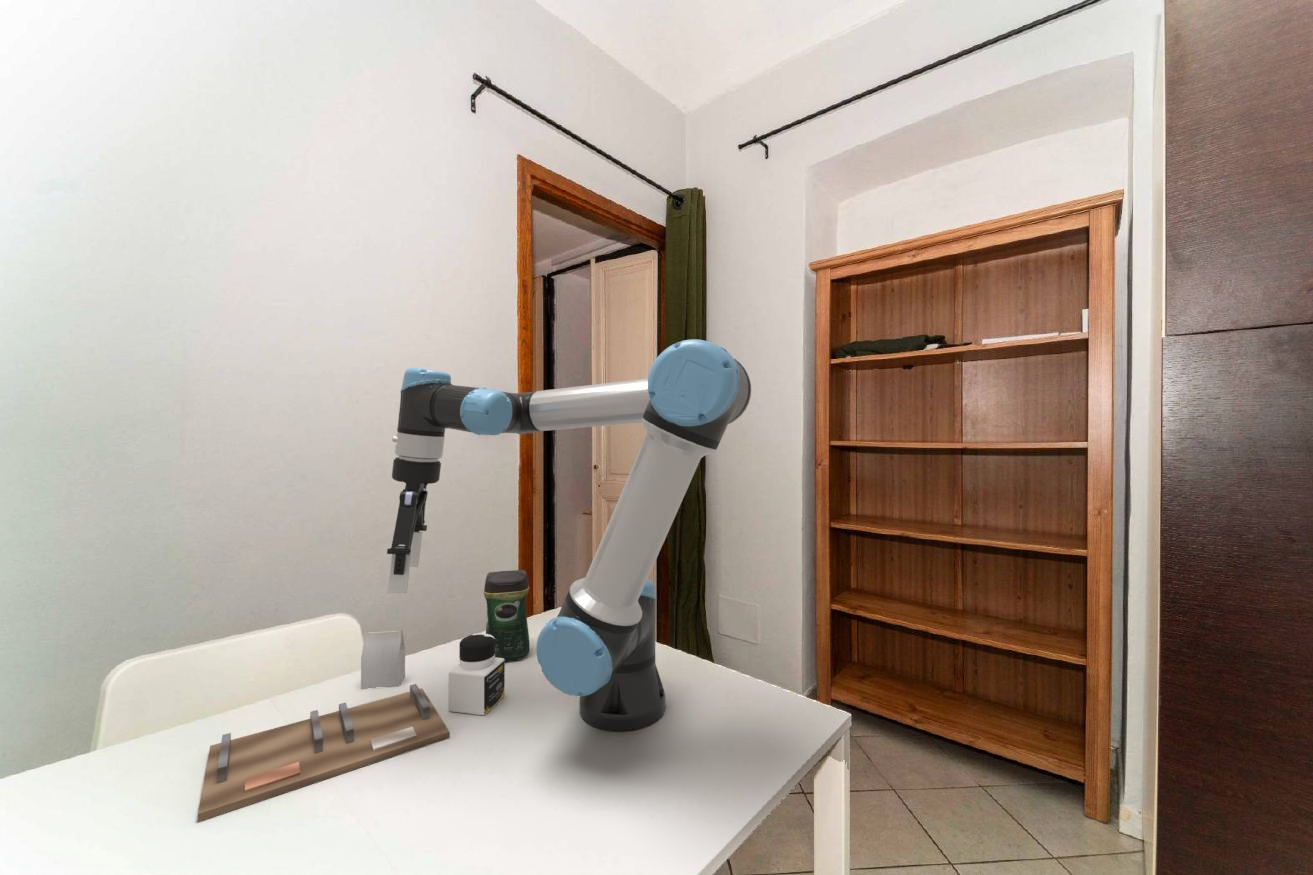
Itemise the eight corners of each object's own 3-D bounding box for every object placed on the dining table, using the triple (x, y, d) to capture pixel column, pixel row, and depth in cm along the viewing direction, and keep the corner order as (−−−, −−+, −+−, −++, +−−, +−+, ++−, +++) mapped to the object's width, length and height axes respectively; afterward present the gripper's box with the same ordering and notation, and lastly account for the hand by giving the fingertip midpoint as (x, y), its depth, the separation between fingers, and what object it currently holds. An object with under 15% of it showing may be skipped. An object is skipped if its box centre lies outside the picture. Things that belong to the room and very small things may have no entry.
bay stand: (449, 737, 82) (449, 718, 82) (197, 822, 64) (197, 797, 64) (422, 693, 96) (422, 677, 96) (210, 752, 78) (210, 732, 78)
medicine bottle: (484, 716, 88) (485, 646, 88) (447, 712, 90) (447, 643, 90) (505, 696, 95) (505, 631, 95) (470, 692, 97) (470, 628, 97)
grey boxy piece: (398, 686, 99) (398, 634, 99) (360, 689, 98) (361, 636, 98) (404, 677, 103) (405, 627, 103) (368, 680, 102) (368, 629, 102)
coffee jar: (529, 646, 118) (529, 565, 118) (530, 660, 111) (530, 574, 111) (484, 650, 116) (485, 568, 116) (482, 665, 108) (482, 577, 108)
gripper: (406, 449, 100) (393, 556, 101) (378, 465, 76) (363, 605, 77) (447, 453, 102) (435, 557, 103) (433, 470, 79) (417, 606, 79)
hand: (404, 578), depth 90 cm, fingers open, 13 cm apart
